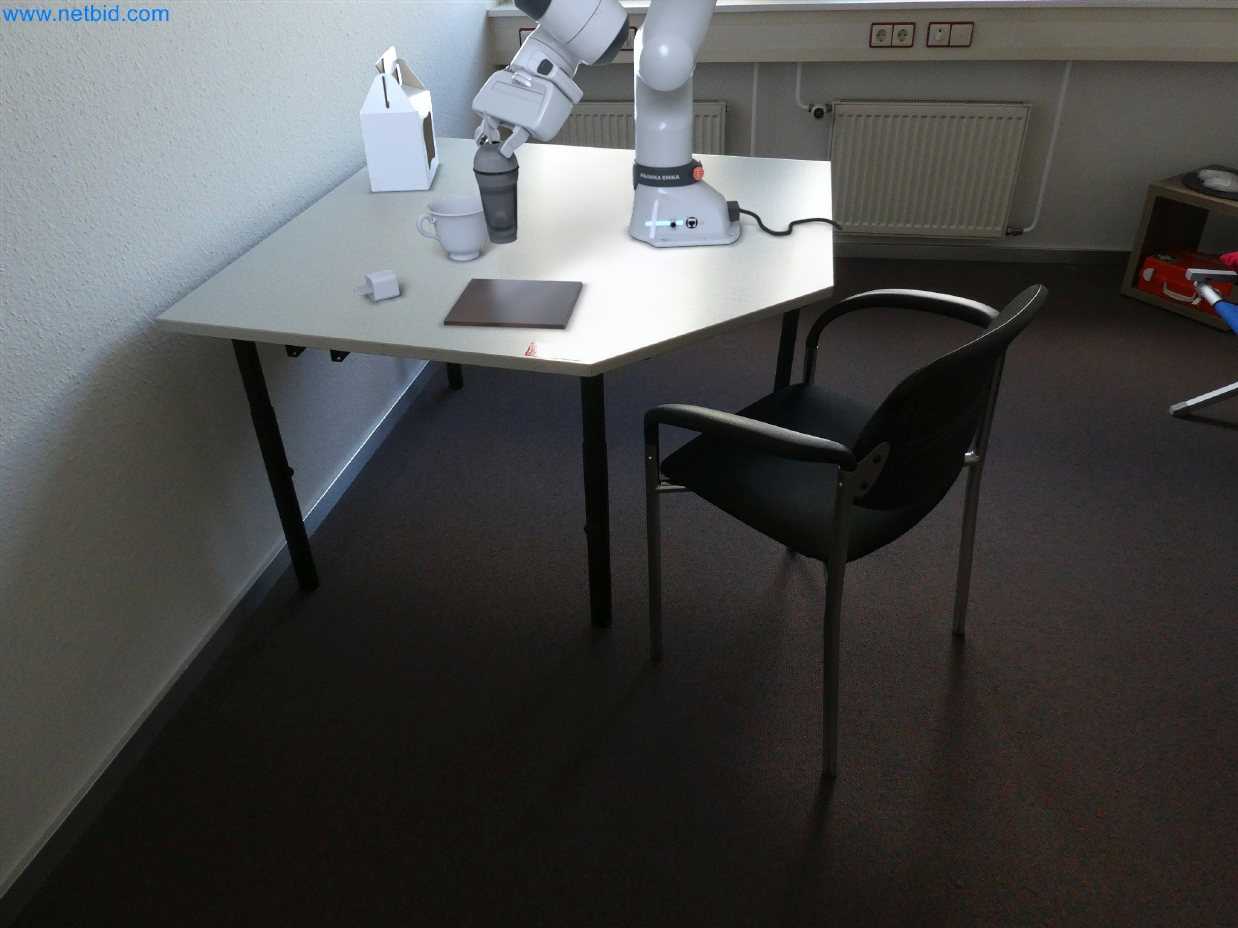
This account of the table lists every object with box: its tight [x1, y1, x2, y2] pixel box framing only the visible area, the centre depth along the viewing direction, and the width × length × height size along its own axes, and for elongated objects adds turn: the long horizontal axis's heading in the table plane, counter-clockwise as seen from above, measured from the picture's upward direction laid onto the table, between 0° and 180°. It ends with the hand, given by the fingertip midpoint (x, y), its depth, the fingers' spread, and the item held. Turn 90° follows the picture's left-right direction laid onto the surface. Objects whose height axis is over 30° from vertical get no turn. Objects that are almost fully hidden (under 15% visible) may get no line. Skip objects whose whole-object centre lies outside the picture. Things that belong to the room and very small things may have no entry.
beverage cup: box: [472, 110, 520, 245], centre depth 142 cm, size 7×7×20 cm
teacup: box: [415, 194, 488, 262], centre depth 170 cm, size 12×15×10 cm
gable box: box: [358, 46, 440, 193], centre depth 210 cm, size 22×13×28 cm, turn 4°
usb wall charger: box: [353, 268, 400, 303], centre depth 156 cm, size 4×7×4 cm, turn 123°
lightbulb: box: [474, 125, 501, 149], centre depth 219 cm, size 6×6×11 cm
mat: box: [443, 278, 583, 330], centre depth 154 cm, size 20×18×1 cm
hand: (491, 150), depth 140 cm, fingers closed on beverage cup, 5 cm apart
